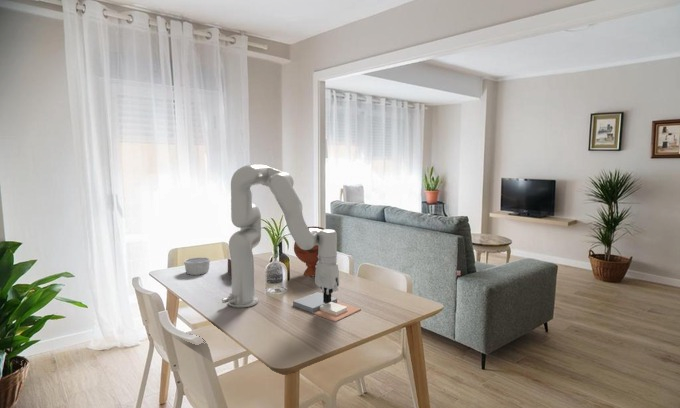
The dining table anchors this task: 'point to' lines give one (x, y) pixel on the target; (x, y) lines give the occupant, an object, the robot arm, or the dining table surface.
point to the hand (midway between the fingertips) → (327, 302)
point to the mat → (336, 318)
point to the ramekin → (197, 265)
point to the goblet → (308, 256)
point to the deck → (312, 302)
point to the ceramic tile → (333, 308)
